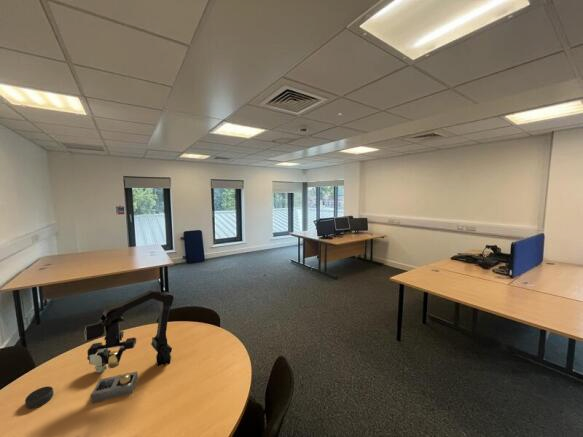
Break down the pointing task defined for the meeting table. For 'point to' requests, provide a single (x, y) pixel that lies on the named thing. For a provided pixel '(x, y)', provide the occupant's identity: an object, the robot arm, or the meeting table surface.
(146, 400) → the meeting table surface
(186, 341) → the meeting table surface
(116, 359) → the brass domed cylinder
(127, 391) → the jig
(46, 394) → the smart speaker
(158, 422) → the meeting table surface
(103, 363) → the pneumatic valve
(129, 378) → the dull gold rounded cylinder
